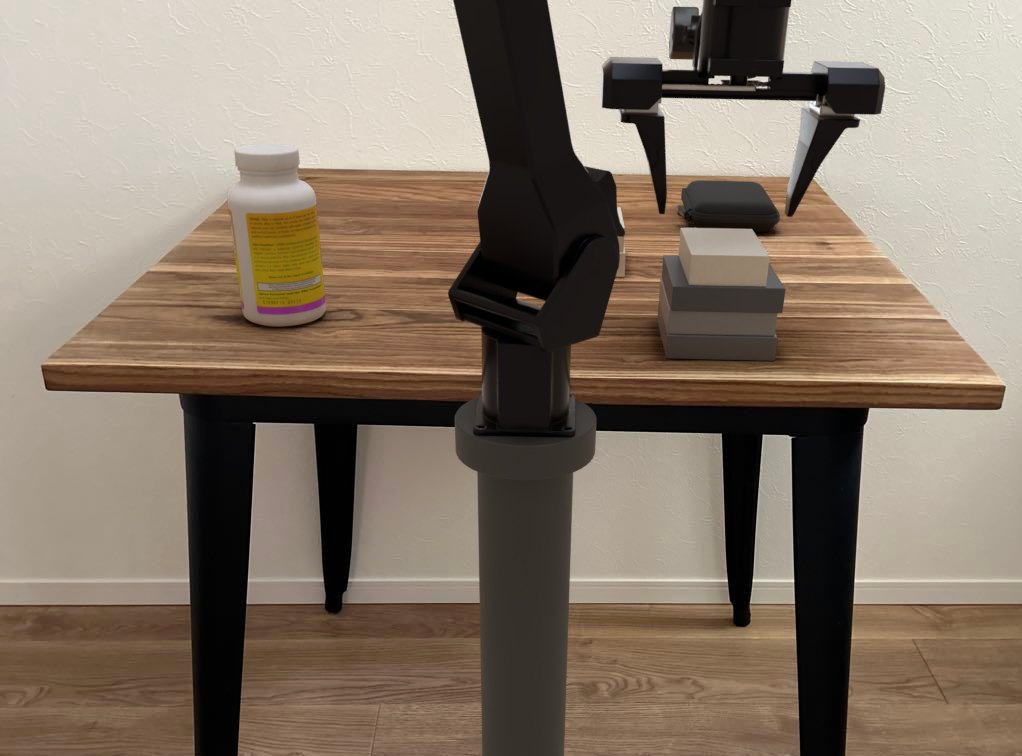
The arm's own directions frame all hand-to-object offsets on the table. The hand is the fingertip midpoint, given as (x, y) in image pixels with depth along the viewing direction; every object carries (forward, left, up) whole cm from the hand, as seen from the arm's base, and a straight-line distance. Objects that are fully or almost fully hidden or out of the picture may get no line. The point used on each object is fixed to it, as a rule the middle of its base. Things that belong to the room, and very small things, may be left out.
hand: (725, 214), depth 76 cm
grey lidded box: (0, 0, -10) cm, 10 cm away
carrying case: (+41, -6, -10) cm, 43 cm away
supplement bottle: (+4, +34, -10) cm, 36 cm away
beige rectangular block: (0, 0, -4) cm, 4 cm away
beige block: (+21, +9, -10) cm, 25 cm away
